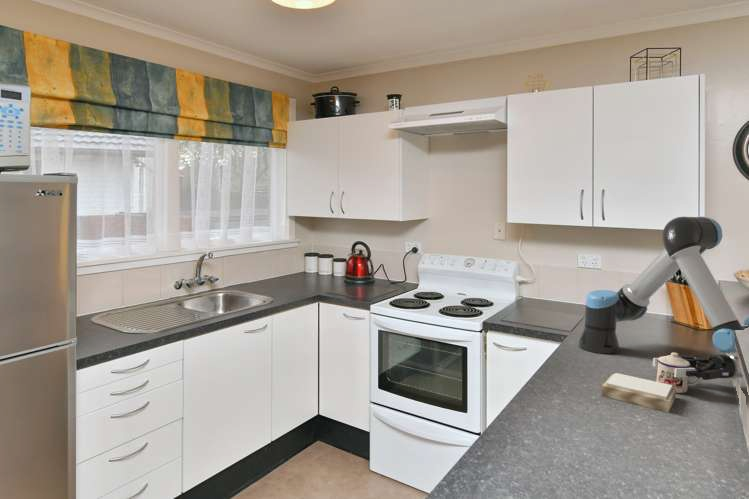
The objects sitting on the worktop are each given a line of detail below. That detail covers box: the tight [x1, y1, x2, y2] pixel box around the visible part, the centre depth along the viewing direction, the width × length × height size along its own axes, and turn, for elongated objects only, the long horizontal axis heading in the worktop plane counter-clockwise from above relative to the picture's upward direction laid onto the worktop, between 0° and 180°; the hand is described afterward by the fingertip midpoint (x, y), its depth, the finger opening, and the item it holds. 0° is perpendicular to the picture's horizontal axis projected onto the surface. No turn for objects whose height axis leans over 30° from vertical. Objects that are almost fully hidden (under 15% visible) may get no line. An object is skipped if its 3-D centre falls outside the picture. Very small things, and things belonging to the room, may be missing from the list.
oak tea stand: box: [600, 372, 677, 413], centre depth 152 cm, size 18×14×4 cm
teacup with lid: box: [655, 352, 701, 394], centre depth 159 cm, size 12×9×12 cm
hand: (664, 367), depth 159 cm, fingers open, 9 cm apart
